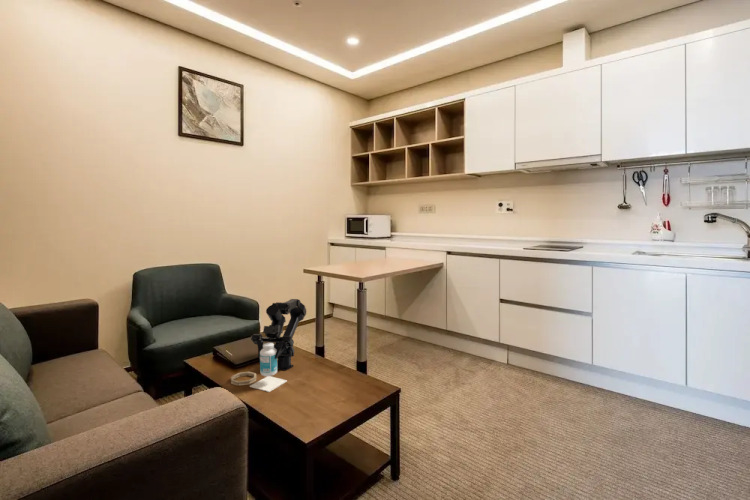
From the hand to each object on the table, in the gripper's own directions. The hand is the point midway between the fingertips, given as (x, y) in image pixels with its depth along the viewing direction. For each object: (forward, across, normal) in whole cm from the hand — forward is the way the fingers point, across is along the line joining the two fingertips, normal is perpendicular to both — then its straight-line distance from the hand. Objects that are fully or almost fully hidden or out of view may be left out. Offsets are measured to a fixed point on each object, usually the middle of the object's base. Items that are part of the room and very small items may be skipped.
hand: (267, 357), depth 165 cm
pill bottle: (+5, 0, +6) cm, 8 cm away
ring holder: (+7, -13, +11) cm, 18 cm away
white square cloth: (+8, 0, +10) cm, 13 cm away
